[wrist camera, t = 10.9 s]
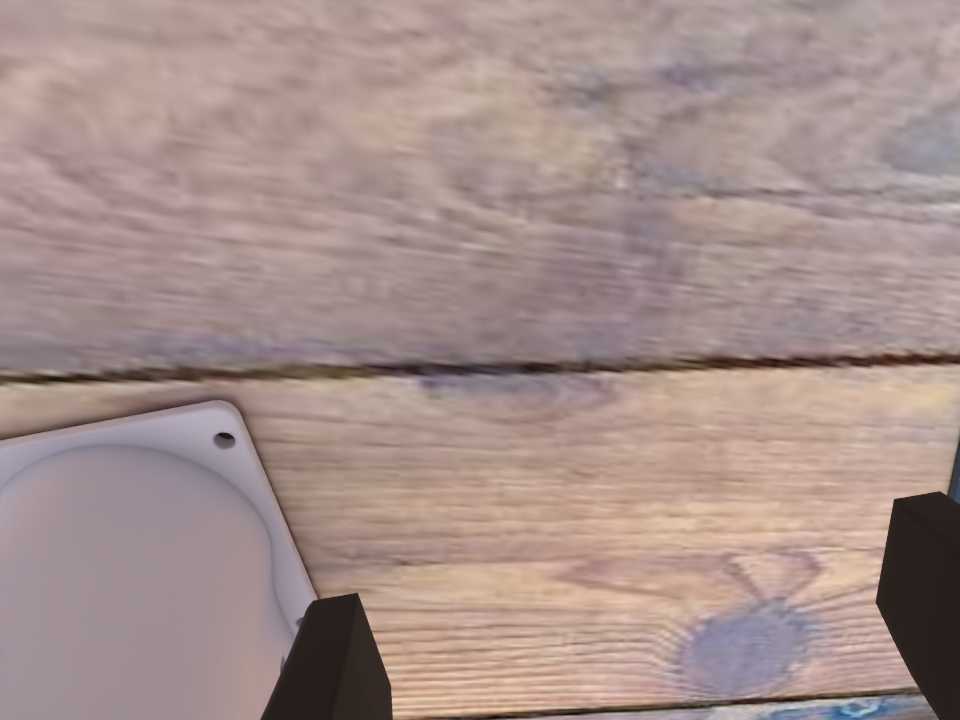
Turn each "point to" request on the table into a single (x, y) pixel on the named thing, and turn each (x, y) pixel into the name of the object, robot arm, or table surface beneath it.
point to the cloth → (956, 481)
